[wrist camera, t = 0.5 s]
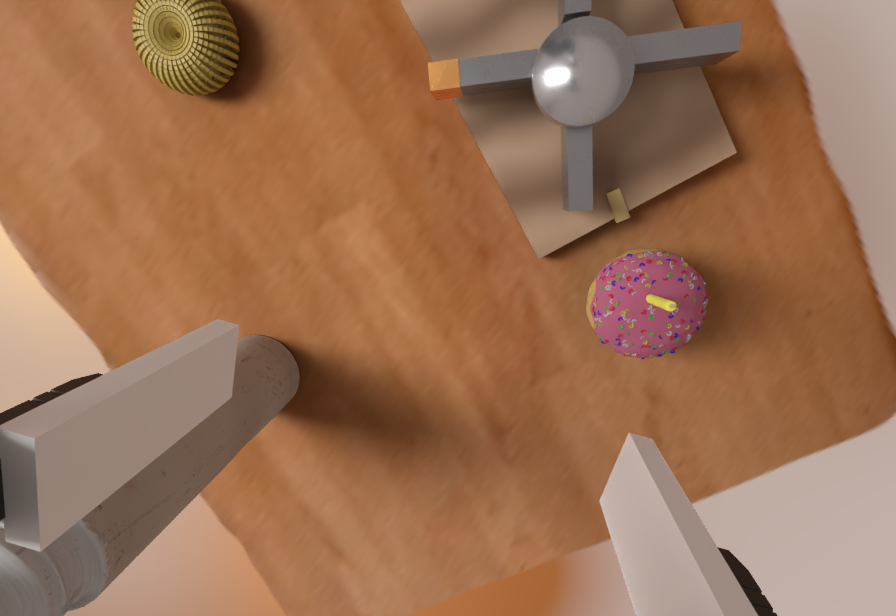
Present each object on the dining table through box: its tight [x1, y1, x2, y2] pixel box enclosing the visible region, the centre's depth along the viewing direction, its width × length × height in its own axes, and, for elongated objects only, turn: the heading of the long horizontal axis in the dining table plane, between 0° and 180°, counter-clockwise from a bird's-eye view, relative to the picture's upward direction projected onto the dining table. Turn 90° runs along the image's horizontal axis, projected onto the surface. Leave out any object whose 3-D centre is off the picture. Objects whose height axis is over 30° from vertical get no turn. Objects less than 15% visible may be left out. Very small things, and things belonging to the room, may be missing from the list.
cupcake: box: [586, 248, 708, 359], centre depth 31 cm, size 9×8×12 cm
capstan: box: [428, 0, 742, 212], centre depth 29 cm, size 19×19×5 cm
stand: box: [400, 0, 737, 259], centre depth 32 cm, size 22×16×4 cm
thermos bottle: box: [0, 335, 300, 616], centre depth 30 cm, size 8×8×28 cm
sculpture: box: [132, 0, 239, 96], centre depth 34 cm, size 8×4×8 cm
